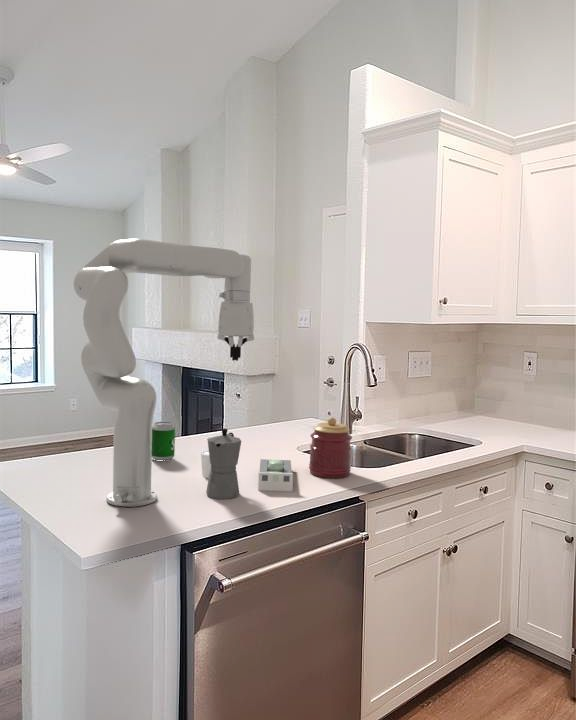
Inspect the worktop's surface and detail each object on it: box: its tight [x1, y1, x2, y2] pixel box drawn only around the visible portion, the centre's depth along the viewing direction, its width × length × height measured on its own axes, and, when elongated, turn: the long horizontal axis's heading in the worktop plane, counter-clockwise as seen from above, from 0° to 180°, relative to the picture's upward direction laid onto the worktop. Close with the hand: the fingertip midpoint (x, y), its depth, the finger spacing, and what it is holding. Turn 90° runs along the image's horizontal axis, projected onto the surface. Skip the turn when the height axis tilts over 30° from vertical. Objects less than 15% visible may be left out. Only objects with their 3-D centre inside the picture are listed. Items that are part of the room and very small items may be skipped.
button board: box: [257, 458, 294, 492], centre depth 181 cm, size 24×10×5 cm, turn 1°
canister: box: [308, 417, 353, 479], centre depth 189 cm, size 13×13×18 cm
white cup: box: [200, 450, 211, 479], centre depth 182 cm, size 7×7×7 cm
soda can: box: [152, 421, 176, 461], centre depth 199 cm, size 8×8×12 cm
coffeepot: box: [205, 428, 242, 500], centre depth 165 cm, size 15×9×18 cm, turn 171°
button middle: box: [268, 461, 283, 472], centre depth 181 cm, size 4×4×3 cm
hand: (235, 360), depth 179 cm, fingers closed
